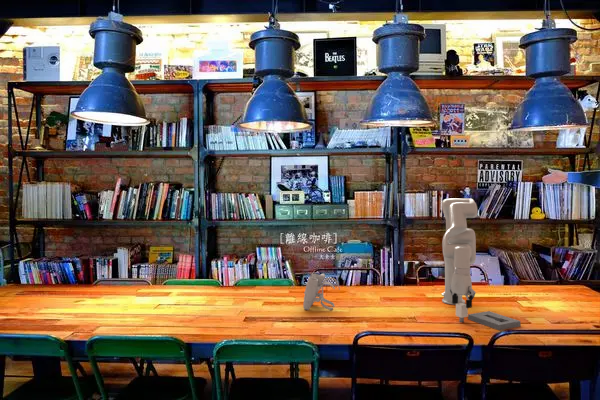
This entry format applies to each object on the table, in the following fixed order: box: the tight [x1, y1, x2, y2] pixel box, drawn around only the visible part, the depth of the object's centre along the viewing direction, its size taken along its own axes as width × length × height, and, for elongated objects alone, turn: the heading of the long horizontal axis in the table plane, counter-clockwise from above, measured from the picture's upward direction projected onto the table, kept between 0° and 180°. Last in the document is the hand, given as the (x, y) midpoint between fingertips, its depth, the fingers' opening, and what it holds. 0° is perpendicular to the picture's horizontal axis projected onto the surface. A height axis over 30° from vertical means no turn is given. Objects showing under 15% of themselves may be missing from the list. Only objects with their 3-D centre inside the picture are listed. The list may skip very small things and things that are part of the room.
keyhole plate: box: [467, 310, 522, 331], centre depth 247 cm, size 20×14×2 cm
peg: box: [455, 303, 469, 323], centre depth 249 cm, size 4×4×9 cm
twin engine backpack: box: [303, 271, 341, 311], centre depth 278 cm, size 18×19×20 cm
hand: (461, 305), depth 248 cm, fingers open, 9 cm apart
